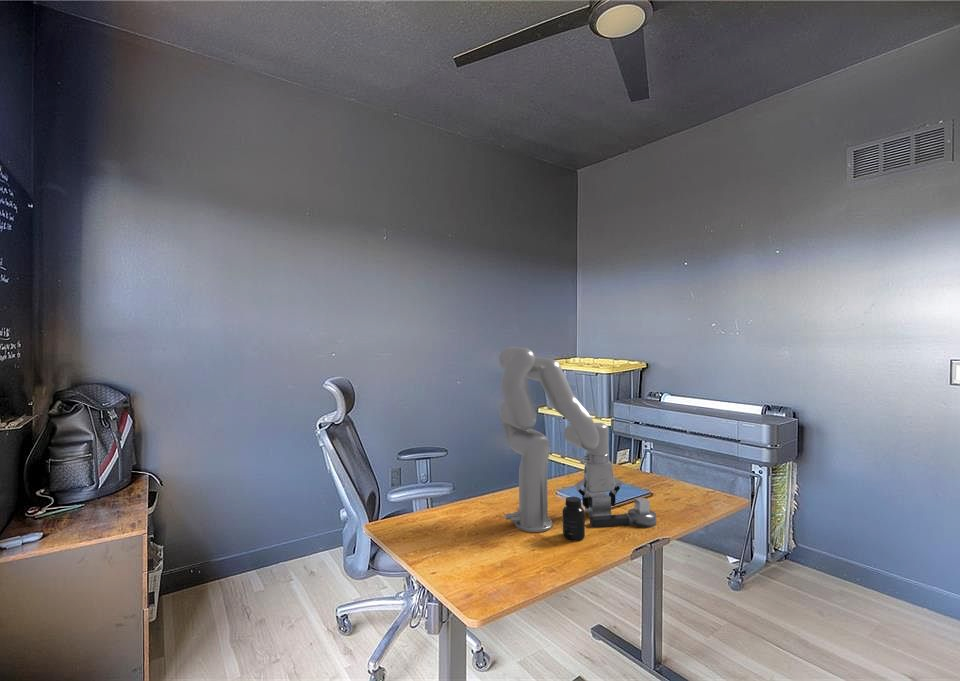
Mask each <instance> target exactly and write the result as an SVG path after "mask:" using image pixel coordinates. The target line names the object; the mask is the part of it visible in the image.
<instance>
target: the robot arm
mask: <svg viewBox="0 0 960 681" xmlns="http://www.w3.org/2000/svg"><path fill="white" fill-rule="evenodd" d="M498 363H499V366H501V368H502V369H503V374H502V377H501V380H500V389H501V393H502V396H503V401H502V403H501V404H500V407H499V409H498V414H499V415H498V416H499V420H500V423H501V426H502V429H503V432H504V435H505V437H506V440H507V442H508V445H509V447H510V448H511V449H512V450H513V451H514V452H516V453H517V454H519V455H521V458H520V463H519V467H518V508H517V509H516V511H515V512H514V513H513V512H512V513H509V512H508V513H505V514H504V518H505V520H506V521H507V520H510V522H513V523H514V526H515V527H516V528H517V529H519V530H521V531H524V532H529V533H541V532H546V531H548V530H550V529H552V527H553V520H552V519H551V518H549V517H548V516H549V515H548V514H549V513H548V511H549V510H548V507H549V506H548V503H549V502H548V496H549V495H548V492H549V491H548V468H549V467H548V465H549V459H550V453H551V452H550V451H551V446H550V441H549V438H547V437H546V435H545V434H543V433H542V432H540V431H538V430H535V429H533V427H534V426H535V425H536V422H537V418H538V417H537V412H536V410H535V406H534V403H533V400H532V398H531V394H530V392H529V388H528V379H529V380H532V381H536V382H540V384H541V386H542V389H543V391H544V393H545V395H546V396H547V397H546V398H547V399H548V401H549V403H550V406H551V407H552V408H553V409H554V411H556V412H557V413H559V415H561V416H562V417H563V418H564V419H565V420H567V422H568V423H569V424H568V425H567V426H565V428H564V429H563V433H562V434H563V438H564V440H565V441H566V442H567V443H568V444H570V445H571V446H574V447H577V448H579V449H582V450H583V451H586V454H585V455H584V456H583V460H584V461H585V463H584V470H583V478H582V479H581V480H580V481H578V482H576V483H575V484H574V487H575V488H576V490H577V492H578V493H579V494H580V495H581V496H582V498H581V501H582V505H583V507H584V509H585V508H586V509H588V508H589V498H588V497H587V496H588V495H589V493H590V492H591V493H596V492H605V493H606V492H609V493H608V495H609V496H610V497H611V507H616V504H615V503H616V501H617V500H616V495H617V493H618V492H619V491H620V489H621V487H622V484H623V481H622V480H620V479H619V478H616V477H615V474H614V468H613V464H612V462H611V461H610V456H609V455H610V453H609V452H610V451H609V449H610V448H609V427H608V425H607V424H606V423H604V422H594V419H593V418H592V417H591V415H590V414H589V412H588V411H587V410H586V408H585V407H584V405H582V403H581V402H580V401H579V399H577V397H576V396H575V394H574V393H573V391H572V388H571V385H570V384H569V381H568V380H567V377H566V375H565V373H564V370H563V368H562V366H561V365H560V363H559V362H558V361H557V360H556V359H554V358H551V357H550V358H549V357H540V356H536V355H535V354H534V352H533V351H532V350H531V349H529V348H528V347H522V346H508V347H505V348H503V349H502V350H501V351H500V353H499V355H498ZM582 486H583V489H582Z"/></svg>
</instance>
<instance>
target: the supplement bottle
mask: <svg viewBox="0 0 960 681" xmlns="http://www.w3.org/2000/svg"><path fill="white" fill-rule="evenodd" d="M564 504H565V506H564V507H562V535H563V536H562V537H564V539H566V540H568V541H570V542H571V541H572V542H580V541H582V540H584V539H585V537H586V531H585V530H586V527H585V526H586V525H585V524H586V520H585V513H586V512H585V508H583V507H582V498H580V497H578V496H567V497H566V498H565V503H564Z"/></svg>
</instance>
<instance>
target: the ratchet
mask: <svg viewBox="0 0 960 681" xmlns="http://www.w3.org/2000/svg"><path fill="white" fill-rule="evenodd" d="M633 502H634V507H633V508H631V509H629V510H628V511H627V512H626V513H625V512H624V513H623V514H611V515H606V516H592V517H590V516H589V524H590V526H591V527H593V528H606V527H619V526H621V527H622V526H635V527H640V528H653V527H655V526H657V513H656V512H655V511H653V510H650V509H651V508H650V506H651V505H650V503H651V502H650V500H649V499H647V498H645V497H634V501H633Z"/></svg>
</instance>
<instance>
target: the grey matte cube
mask: <svg viewBox="0 0 960 681" xmlns="http://www.w3.org/2000/svg"><path fill="white" fill-rule="evenodd" d="M587 497H588V498H589V508H588V509H586V508H585V507H584V513H586V514H588V516H589V518H590V517H592V516H606V515H612V505H611V497H610V496H609V494H607V493H606V492H596V493H591V492H590V493H589V495H588V496H587Z"/></svg>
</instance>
